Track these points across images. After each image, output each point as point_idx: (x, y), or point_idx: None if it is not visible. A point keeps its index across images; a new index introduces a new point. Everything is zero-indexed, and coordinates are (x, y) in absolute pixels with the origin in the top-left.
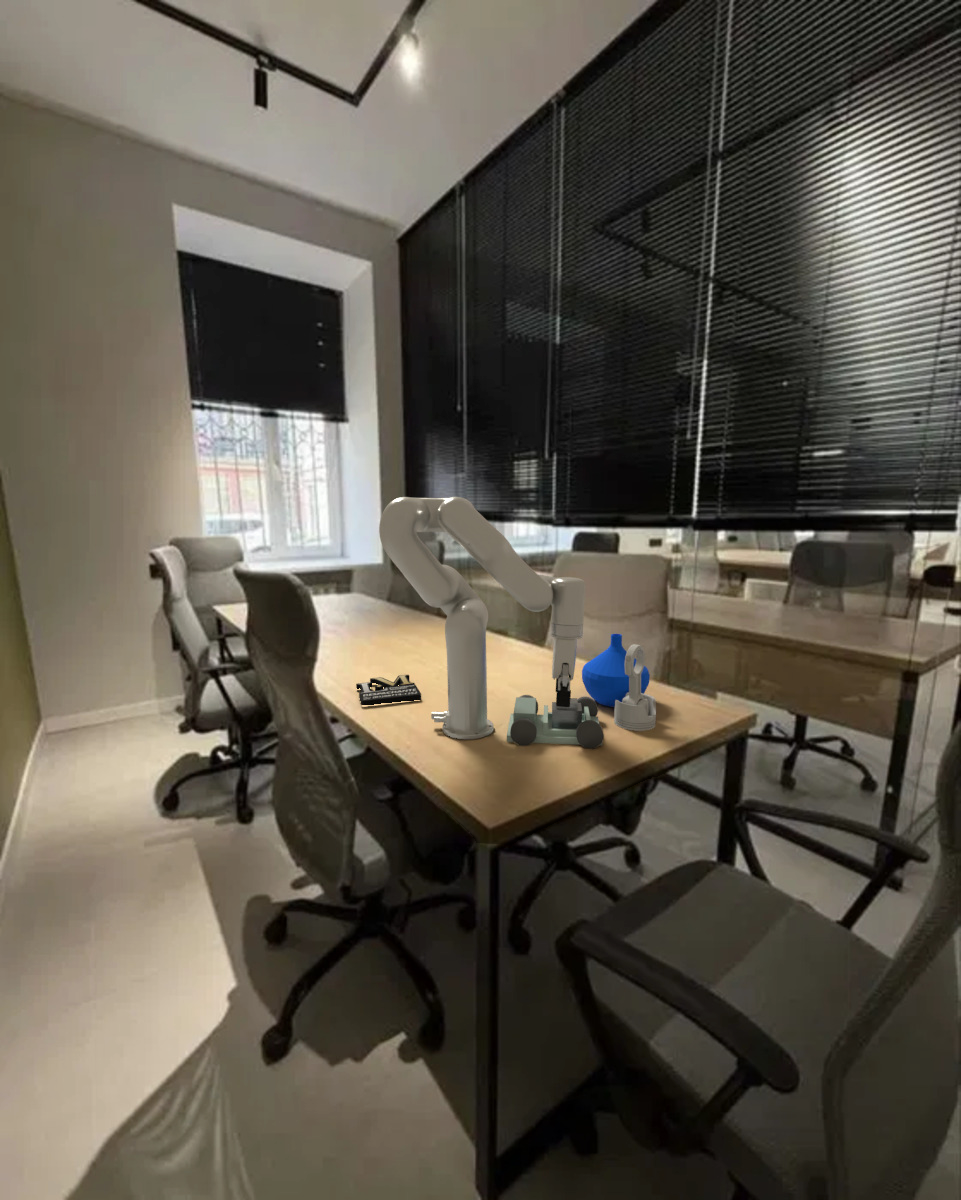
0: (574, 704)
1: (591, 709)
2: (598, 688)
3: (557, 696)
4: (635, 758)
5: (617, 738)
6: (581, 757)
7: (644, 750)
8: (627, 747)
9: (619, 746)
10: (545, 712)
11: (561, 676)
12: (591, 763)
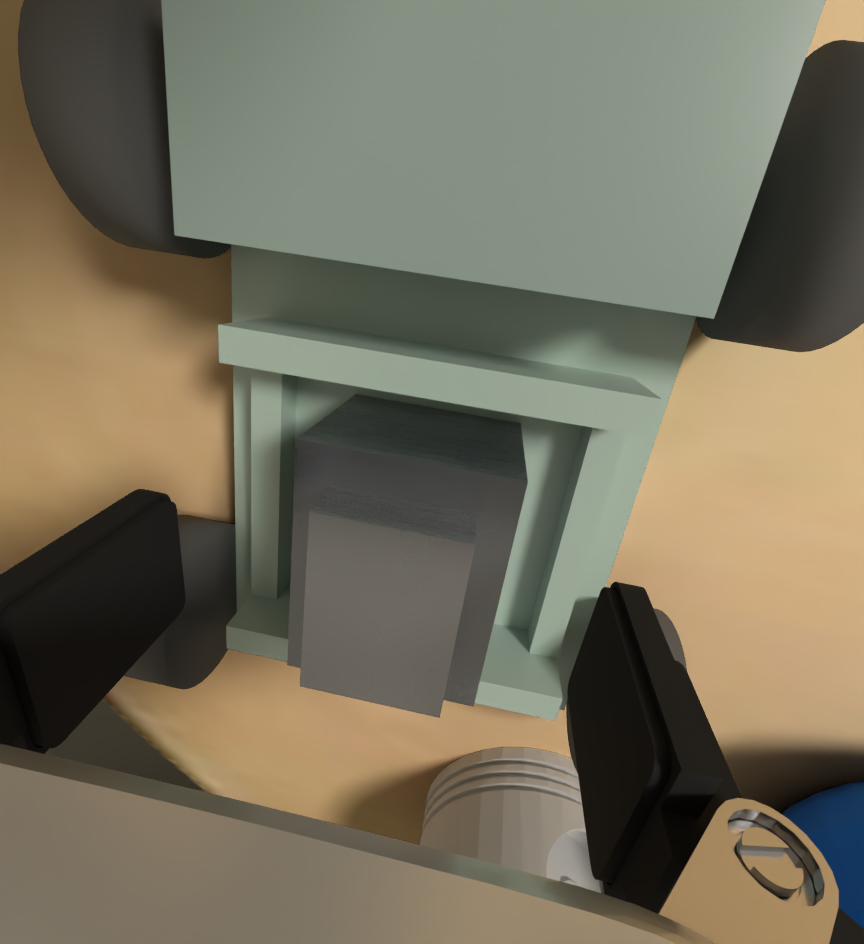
0: (305, 655)
1: None
2: (848, 908)
3: (52, 555)
4: (145, 692)
5: (341, 698)
6: (107, 488)
7: (224, 745)
8: (246, 701)
9: (253, 677)
10: (460, 382)
11: (650, 850)
12: (56, 517)
